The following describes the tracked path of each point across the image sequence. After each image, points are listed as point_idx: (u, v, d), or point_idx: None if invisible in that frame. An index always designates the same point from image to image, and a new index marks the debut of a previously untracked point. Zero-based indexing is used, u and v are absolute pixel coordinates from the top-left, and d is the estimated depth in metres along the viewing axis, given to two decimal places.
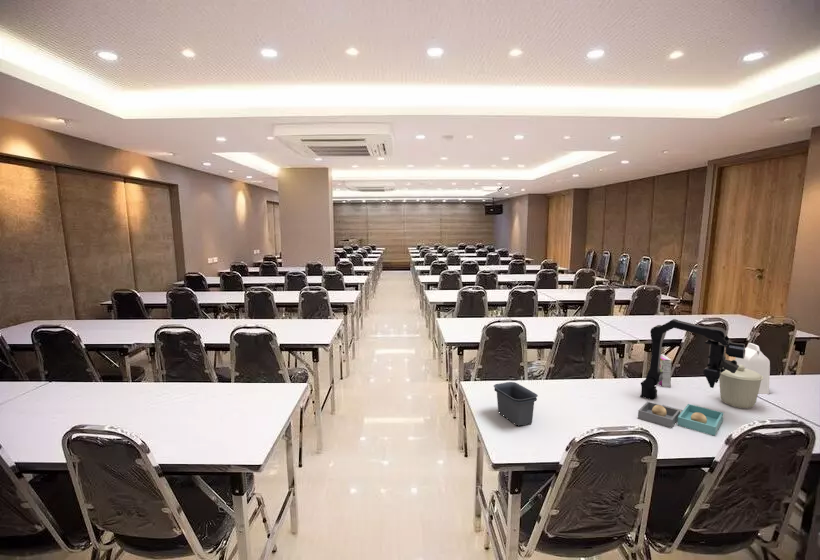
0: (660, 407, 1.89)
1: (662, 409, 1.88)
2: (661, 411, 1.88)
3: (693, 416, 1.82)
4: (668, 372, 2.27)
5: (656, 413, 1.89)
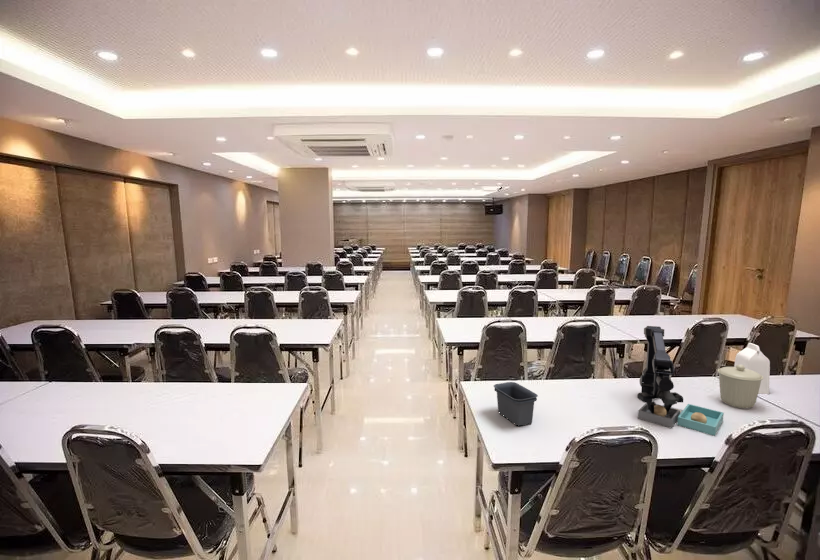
0: (660, 407, 1.89)
1: (662, 409, 1.88)
2: (661, 411, 1.88)
3: (693, 416, 1.82)
4: None
5: (656, 413, 1.89)
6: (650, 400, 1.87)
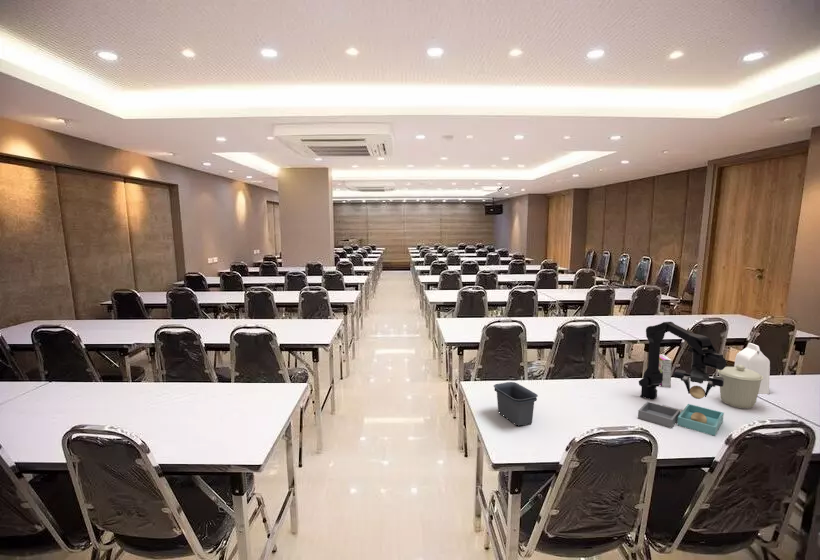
0: (696, 387, 1.86)
1: (697, 389, 1.86)
2: (694, 390, 1.86)
3: (693, 416, 1.82)
4: (668, 372, 2.27)
5: (690, 392, 1.88)
6: (681, 376, 1.89)
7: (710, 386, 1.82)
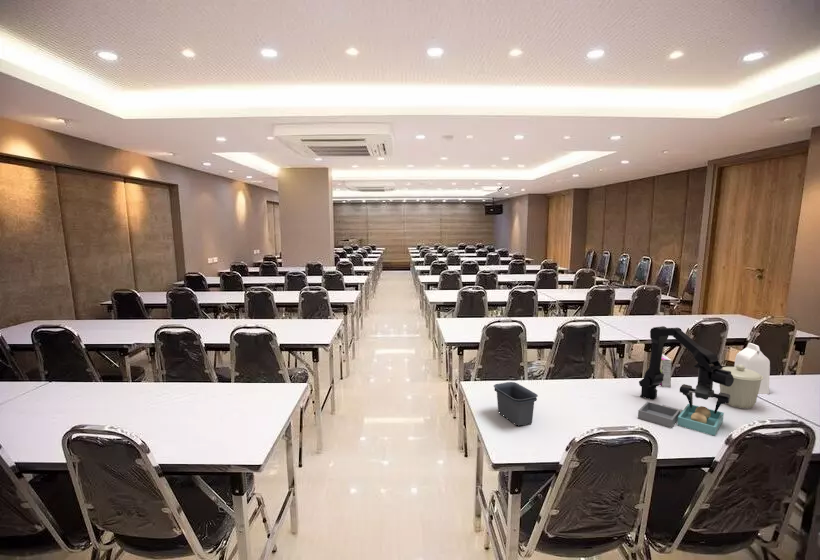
0: (701, 408, 1.88)
1: (702, 410, 1.87)
2: (700, 411, 1.87)
3: (693, 416, 1.82)
4: (668, 372, 2.27)
5: (695, 412, 1.89)
6: (686, 391, 1.90)
7: (719, 403, 1.82)
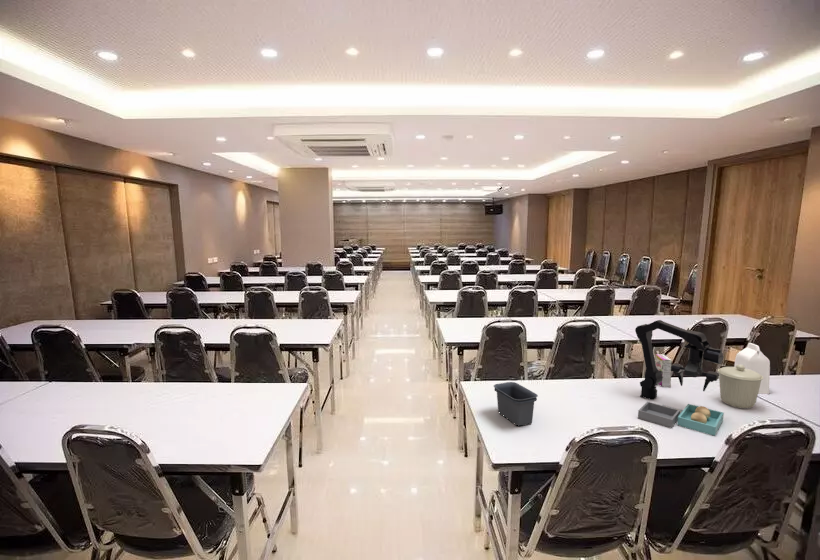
0: (701, 408, 1.88)
1: (702, 410, 1.87)
2: (699, 411, 1.87)
3: (693, 416, 1.82)
4: (668, 372, 2.27)
5: (695, 412, 1.89)
6: (677, 370, 1.99)
7: (708, 381, 1.90)
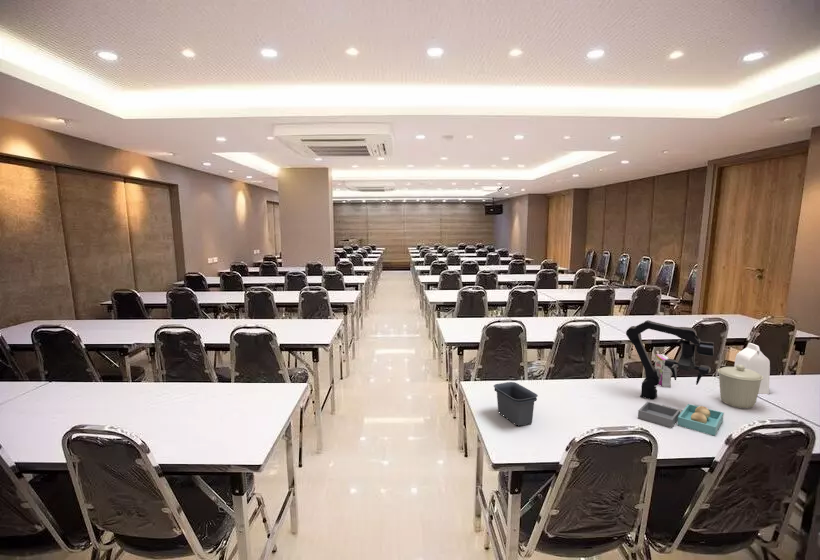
0: (701, 408, 1.88)
1: (702, 410, 1.87)
2: (699, 411, 1.87)
3: (693, 416, 1.82)
4: (668, 372, 2.27)
5: None
6: (671, 365, 2.05)
7: (700, 374, 1.97)
